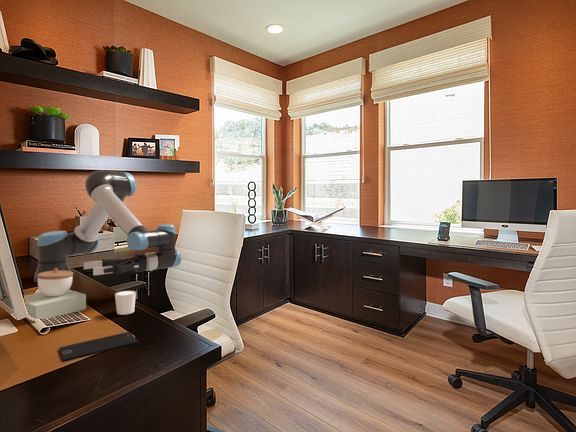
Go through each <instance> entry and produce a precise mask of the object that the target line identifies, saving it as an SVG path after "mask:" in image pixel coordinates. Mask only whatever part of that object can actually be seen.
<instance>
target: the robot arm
mask: <svg viewBox="0 0 576 432" xmlns="http://www.w3.org/2000/svg"><path fill="white" fill-rule="evenodd" d="M84 185H85V191H86V193H87V195H88V196H89V197H90V199H91V200H92V201H93V202H94V204H93V205H92V207H91V209H90V210H89V211H88V213H87V215H86V216H85V219H84V220H83V221H82V223H81V225H80V224H79V225H77V226H76V227H75V228H73V229H74V230H73V231H72V232H68V231H66V230H56V231H48V232H45V233H41V234H40V235H38V236H37V237H38V238H37V260H38V265H37V268H36V271H35V273H34V277H33V283H36V284H38V278H37V275H38V274H39V273H42V272H47V271H54V269H58V271H59V270H64V271H71V269H70V266H69V264H68V257H72V256H73V257H74V256H80V255H81V256H82V255H87V254H91V253H93V252H95V251H96V250H98V248H99V246H100V242H101V240H100V235H99V232H100V231H101V229H102V228H103V226H104V224H105V223H106V222H107V220H108V218H109V217H110V218H111V219H112V220H113V222H115V224H116V225H117V226H118V227H119V228H120V229H121V231H122V232H123V233H124V234H125V235H126V236H127V237H126V244H127V247H128V248H129V250H131V251H145V250H149V249H154V248H155V249H156V248H157V251H156V252H155V251H153V252H145V253H135V254H133V257H132V259H130V258H125V257H124V258H110V259H109V258H108V259H107V258H106V259H104V258H102V259H101V260H95V261H94V260H93V261H85V262H83V270H90V269H92V273H93V274H92V275H93V276H100V275H107V274H113V273H114V274H118V275H119V274H122V273H123V274H124V273H127V272H130V271H134V272H136V273H140V272H145V271H150V272H153V270H160V269H169V268H170V269H171V268H174V267H175V268H176V267H178V266H180V265H181V263H182V255H181V251H179V250H177V249H176V226H175V225H174V224H169V223H168V224H158V225H157V227H156V229H153V230H148V229H147V228H146V227H145V226H144V225H143V224H142V223H141V222H140V220H139V219H138V218H137V217H136V216H135V214H133V212H132V211H131V210H130V209H129V207H127V206H126V204H125V203H124V202H123V201H124V200H125V199H126V197H131V196H133V195H134V194H135V192H136V190H137V184H136V179H135V177H134V175H132V173H129V172H125V171H114V170H113V171H112V170H103V169H99V170H94V171H92V172H91V173H89V175H88V176H87V178H86V180H85V184H84Z"/></svg>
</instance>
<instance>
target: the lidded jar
mask: <svg viewBox="0 0 576 432" xmlns="http://www.w3.org/2000/svg"><path fill="white" fill-rule="evenodd" d="M37 278H38V283H37V287H38V289H39V291H40V292H42V293H43V294H45V296H48V297H54V296H61V295H64V294H65V293H66V292H67V291H68V290H71V287H72V285H73V278H74V272H73V271H71V270H70V271H64V270H59V271H58V269H54V271H47V272H42V273H39V274H38V275H37Z"/></svg>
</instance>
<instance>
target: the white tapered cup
mask: <svg viewBox="0 0 576 432" xmlns="http://www.w3.org/2000/svg"><path fill="white" fill-rule="evenodd" d="M136 295H137V292H136V291H135V290H123V291H117V292H116V293H114V298H115V306H116V307H115V310H116V314H117V315H121V316H122V315H124V316H125V315H129V314H133V313H134V312H135V307H136V305H135V304H136Z"/></svg>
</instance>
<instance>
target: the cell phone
mask: <svg viewBox="0 0 576 432" xmlns="http://www.w3.org/2000/svg"><path fill="white" fill-rule="evenodd" d="M138 342H139V341H138V340H137V338H136V337H135V336H134V335H133V334H132V333H131V332H130V331H127V332H122V333H117V334H113V335H108V336H104V337H99V338H95V339H91V340H86V341H85V340H84V341H81V342H78V343H74V344H69V345H64V346H60V347H59V348H58V349H59V350H58V351H59V354H60V356H61V357H60V358H61V360H62V362H65V363H66V362H68V361H72V360H76V359H80V358H85V357H88V356H89V357H90V356H92V355H97V354H99V353H105V352H108V351H112V350H116V349H120V348H124V347H128V346H133V345H136V344H138Z"/></svg>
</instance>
